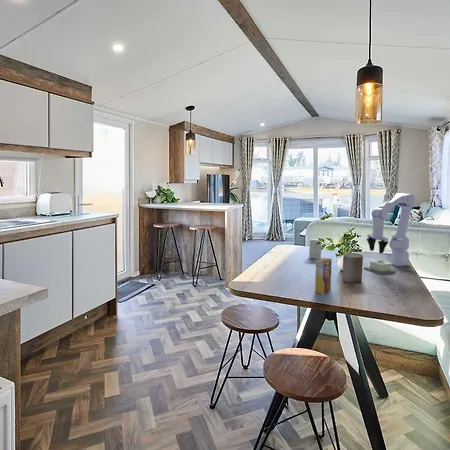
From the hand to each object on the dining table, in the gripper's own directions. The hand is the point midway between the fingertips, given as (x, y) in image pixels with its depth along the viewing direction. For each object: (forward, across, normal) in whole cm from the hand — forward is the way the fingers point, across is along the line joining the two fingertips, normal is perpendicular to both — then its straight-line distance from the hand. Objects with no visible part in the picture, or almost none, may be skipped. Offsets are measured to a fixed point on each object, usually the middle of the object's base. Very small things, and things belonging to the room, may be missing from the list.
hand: (376, 251), depth 212 cm
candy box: (+10, +26, -54) cm, 61 cm away
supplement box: (+11, -35, -18) cm, 41 cm away
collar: (+9, +4, 0) cm, 10 cm away
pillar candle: (+10, +16, -29) cm, 35 cm away
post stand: (+10, +4, 0) cm, 11 cm away
